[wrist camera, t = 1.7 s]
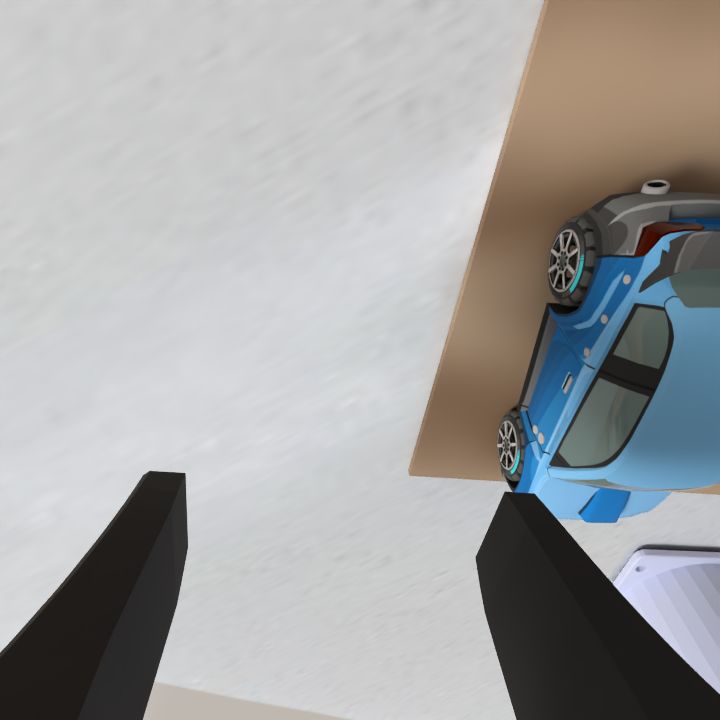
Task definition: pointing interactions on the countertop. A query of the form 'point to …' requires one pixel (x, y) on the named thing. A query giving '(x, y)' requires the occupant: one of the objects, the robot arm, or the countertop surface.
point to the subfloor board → (568, 192)
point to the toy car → (623, 361)
